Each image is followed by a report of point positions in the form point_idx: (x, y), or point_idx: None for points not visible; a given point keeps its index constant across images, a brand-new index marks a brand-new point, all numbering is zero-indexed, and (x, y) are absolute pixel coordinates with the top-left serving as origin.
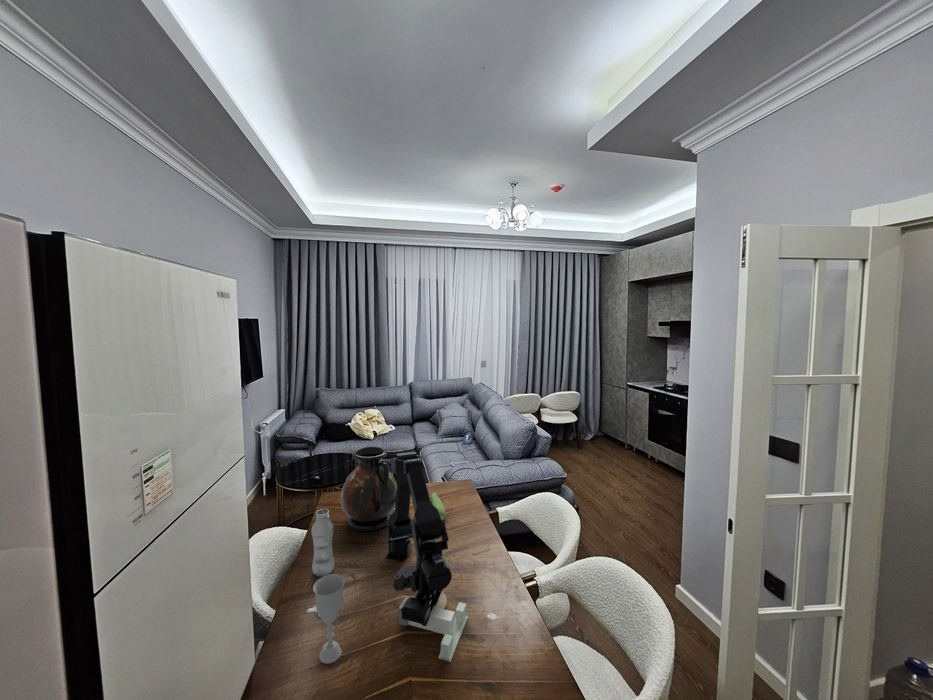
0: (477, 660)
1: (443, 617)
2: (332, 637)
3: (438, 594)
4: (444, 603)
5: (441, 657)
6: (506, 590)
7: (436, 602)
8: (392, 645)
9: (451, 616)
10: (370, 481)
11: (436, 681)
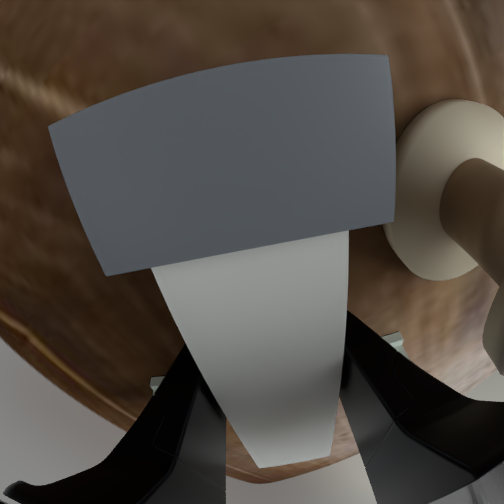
0: (229, 433)
1: (265, 454)
2: None
3: (379, 497)
4: (451, 272)
5: (155, 390)
6: (491, 362)
7: (355, 435)
8: (39, 168)
9: (292, 461)
10: None
11: (89, 392)
